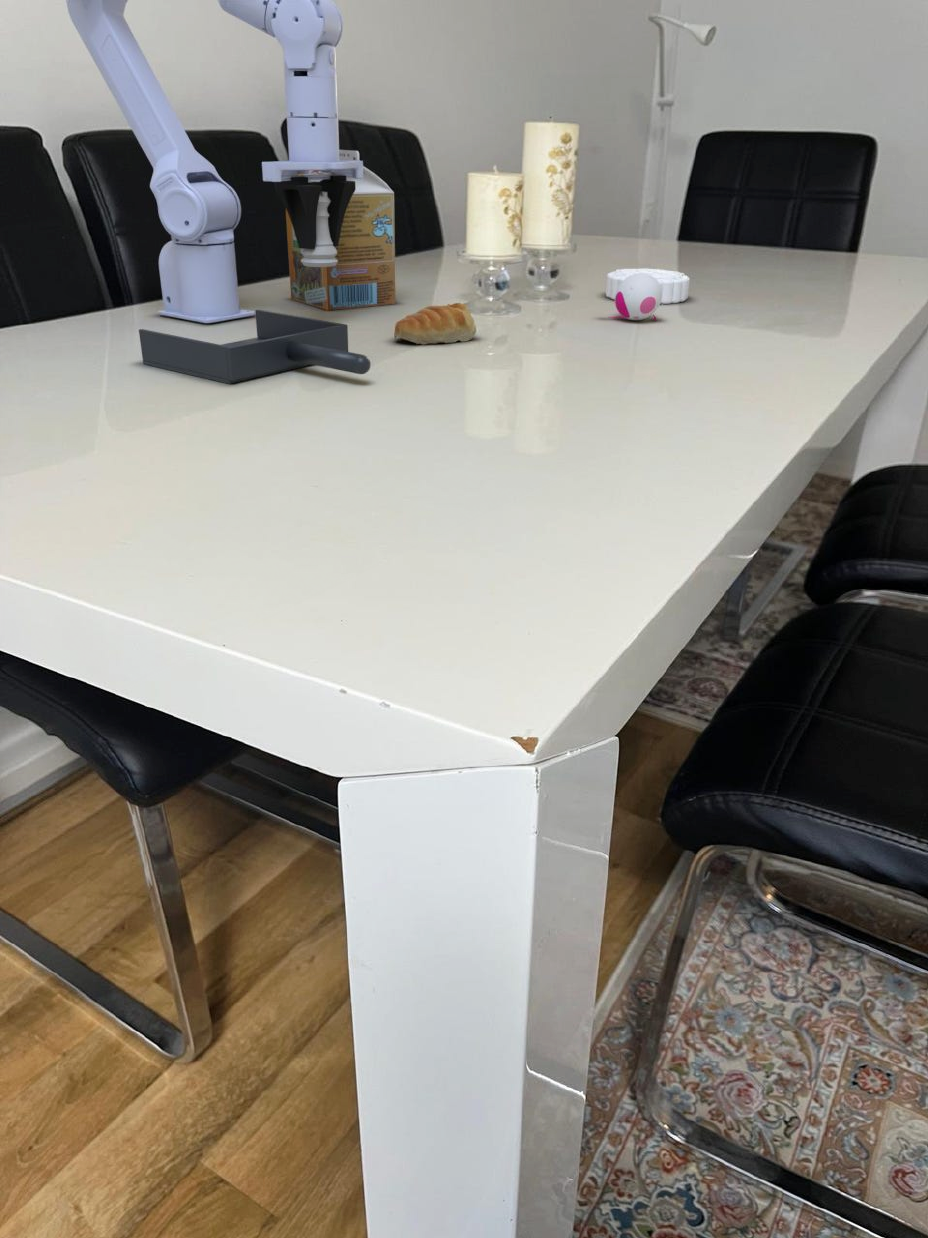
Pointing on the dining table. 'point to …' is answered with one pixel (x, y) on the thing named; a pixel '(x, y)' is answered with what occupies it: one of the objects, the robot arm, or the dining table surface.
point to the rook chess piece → (321, 239)
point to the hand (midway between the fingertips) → (318, 246)
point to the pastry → (437, 325)
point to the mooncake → (670, 281)
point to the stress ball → (638, 297)
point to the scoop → (257, 350)
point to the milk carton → (352, 251)
